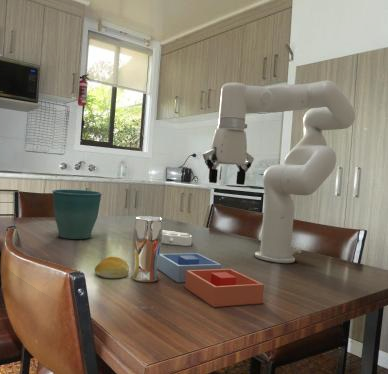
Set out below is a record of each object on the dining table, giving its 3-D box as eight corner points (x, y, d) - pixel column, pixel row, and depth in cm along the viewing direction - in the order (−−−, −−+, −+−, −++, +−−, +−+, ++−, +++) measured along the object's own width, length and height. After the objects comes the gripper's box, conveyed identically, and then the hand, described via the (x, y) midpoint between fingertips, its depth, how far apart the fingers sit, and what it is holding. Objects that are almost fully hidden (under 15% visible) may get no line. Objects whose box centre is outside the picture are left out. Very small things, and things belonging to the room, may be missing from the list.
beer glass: (150, 285, 86) (154, 221, 85) (125, 278, 90) (129, 217, 89) (164, 278, 92) (168, 218, 91) (140, 272, 96) (144, 215, 95)
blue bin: (196, 267, 105) (197, 253, 105) (220, 280, 94) (221, 264, 94) (157, 268, 101) (158, 253, 101) (177, 282, 90) (178, 265, 89)
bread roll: (91, 277, 89) (92, 260, 89) (101, 267, 98) (102, 253, 98) (124, 281, 88) (125, 264, 88) (131, 271, 97) (132, 256, 96)
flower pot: (75, 244, 125) (79, 194, 125) (39, 235, 135) (41, 189, 134) (108, 237, 141) (111, 193, 140) (73, 230, 150) (76, 189, 150)
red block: (224, 289, 85) (226, 272, 85) (235, 295, 81) (236, 277, 81) (209, 290, 84) (211, 272, 83) (219, 296, 80) (221, 277, 80)
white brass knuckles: (197, 241, 145) (186, 247, 132) (154, 235, 152) (140, 240, 139) (198, 233, 145) (187, 238, 132) (155, 227, 152) (141, 231, 139)
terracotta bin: (229, 285, 90) (230, 268, 90) (262, 303, 79) (264, 284, 79) (184, 287, 86) (186, 270, 86) (213, 307, 75) (215, 287, 75)
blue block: (190, 269, 100) (191, 255, 100) (198, 274, 96) (199, 259, 96) (177, 270, 99) (178, 255, 98) (184, 274, 95) (185, 259, 95)
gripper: (247, 130, 116) (242, 184, 117) (199, 124, 110) (195, 181, 111) (263, 128, 109) (258, 185, 110) (213, 121, 103) (208, 182, 104)
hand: (226, 183), depth 110 cm, fingers open, 9 cm apart
